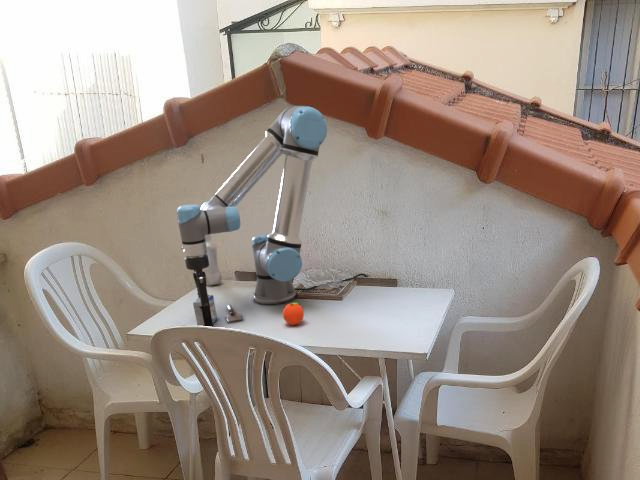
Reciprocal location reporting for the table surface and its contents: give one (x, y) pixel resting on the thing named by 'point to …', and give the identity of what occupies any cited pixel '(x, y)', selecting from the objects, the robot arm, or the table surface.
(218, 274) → the plastic bottle
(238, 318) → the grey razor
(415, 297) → the table surface
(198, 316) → the medicine box
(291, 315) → the clementine
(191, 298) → the table surface
